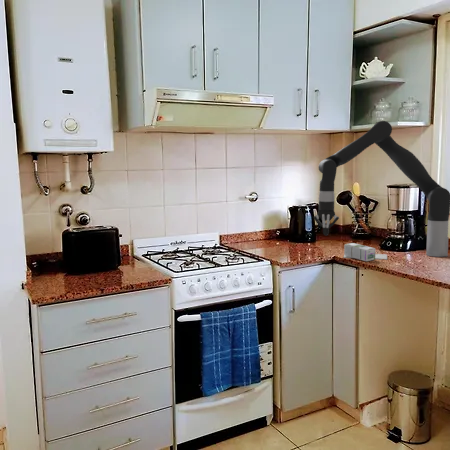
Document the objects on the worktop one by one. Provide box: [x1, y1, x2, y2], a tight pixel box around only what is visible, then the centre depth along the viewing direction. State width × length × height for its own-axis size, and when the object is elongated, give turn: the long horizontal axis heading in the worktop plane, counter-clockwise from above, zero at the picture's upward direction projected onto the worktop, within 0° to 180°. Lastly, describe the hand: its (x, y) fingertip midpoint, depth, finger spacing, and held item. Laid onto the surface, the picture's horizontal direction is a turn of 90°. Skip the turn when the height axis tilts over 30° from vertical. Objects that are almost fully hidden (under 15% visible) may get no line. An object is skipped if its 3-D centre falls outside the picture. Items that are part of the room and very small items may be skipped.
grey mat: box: [342, 253, 388, 261], centre depth 229 cm, size 20×12×1 cm, turn 72°
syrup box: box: [343, 242, 376, 262], centre depth 224 cm, size 6×6×14 cm
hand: (325, 235), depth 234 cm, fingers closed
